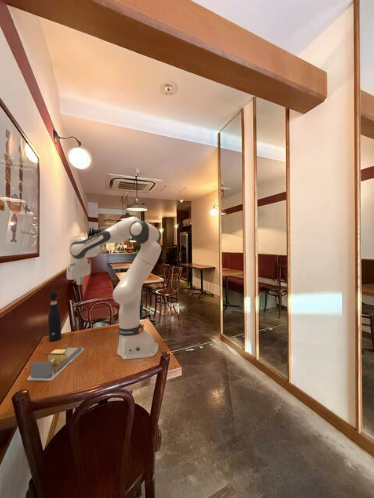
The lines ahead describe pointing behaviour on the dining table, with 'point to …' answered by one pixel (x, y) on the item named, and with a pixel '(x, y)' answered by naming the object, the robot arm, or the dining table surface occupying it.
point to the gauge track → (52, 366)
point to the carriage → (57, 356)
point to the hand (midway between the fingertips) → (79, 284)
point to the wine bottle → (54, 319)
